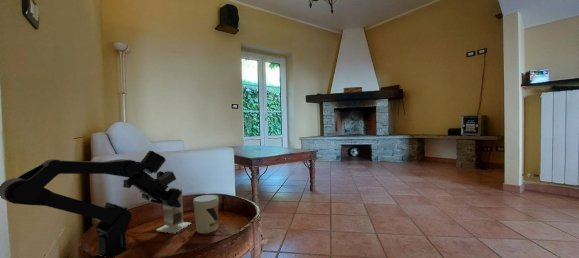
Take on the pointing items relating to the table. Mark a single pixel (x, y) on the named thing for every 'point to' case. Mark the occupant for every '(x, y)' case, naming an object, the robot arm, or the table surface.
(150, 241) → the table surface
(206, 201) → the coffee cup
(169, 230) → the ceramic tile
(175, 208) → the letter block
